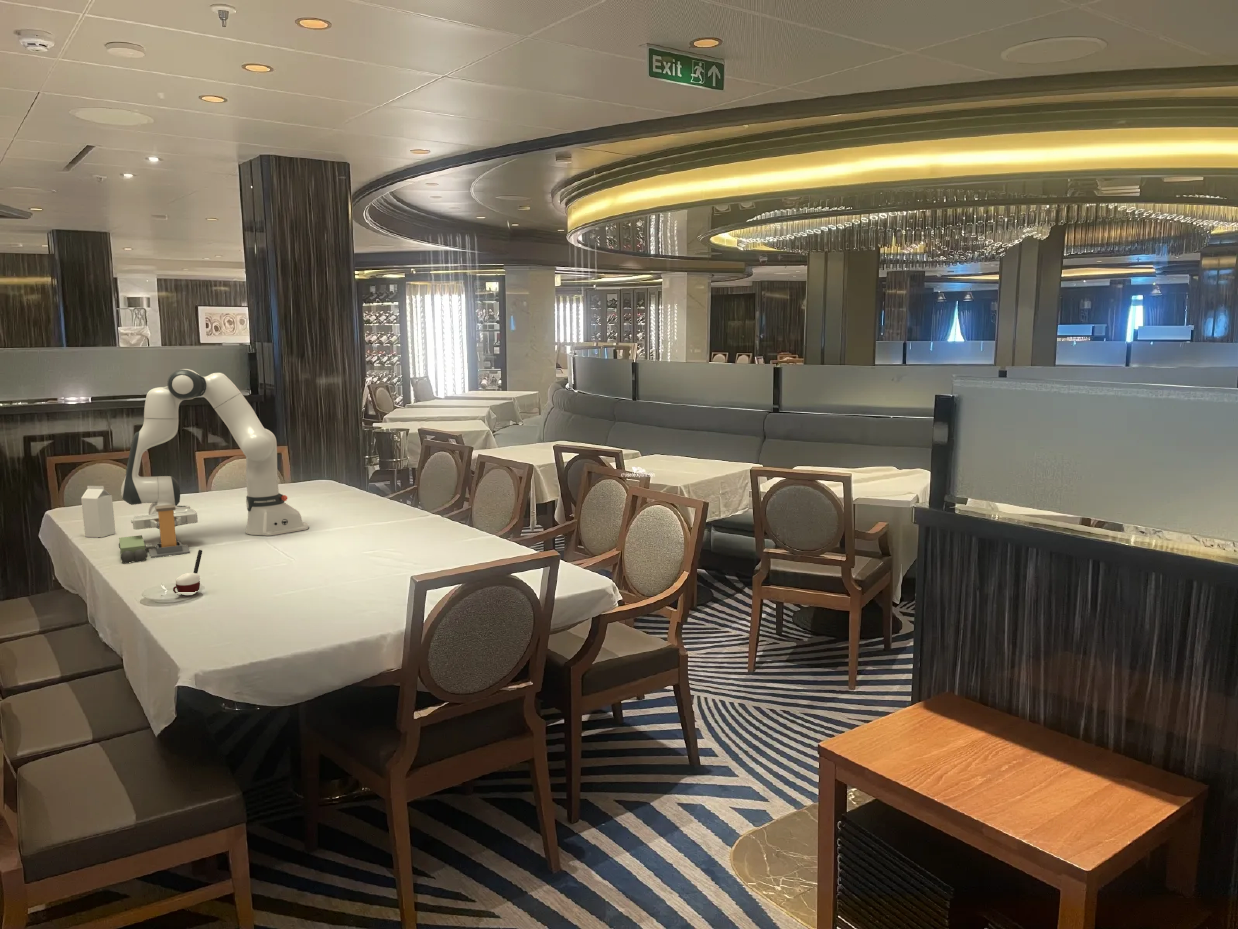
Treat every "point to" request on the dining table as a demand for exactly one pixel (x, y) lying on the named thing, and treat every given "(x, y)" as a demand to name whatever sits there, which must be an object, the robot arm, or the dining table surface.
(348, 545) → the dining table surface
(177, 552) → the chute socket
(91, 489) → the milk carton
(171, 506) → the orange tall block
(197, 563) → the cocoa
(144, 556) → the green dark block
